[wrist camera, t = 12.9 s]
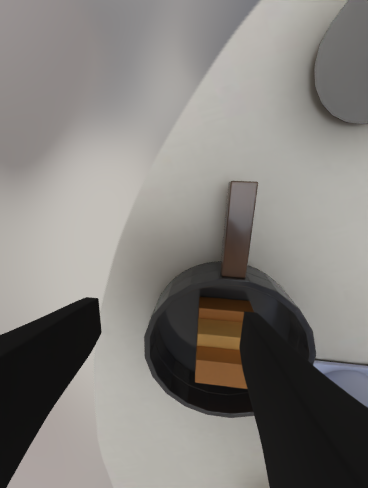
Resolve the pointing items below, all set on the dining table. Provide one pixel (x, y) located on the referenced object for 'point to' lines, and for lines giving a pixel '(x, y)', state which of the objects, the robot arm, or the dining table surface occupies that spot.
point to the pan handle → (238, 228)
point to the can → (345, 64)
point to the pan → (185, 334)
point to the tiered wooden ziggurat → (220, 342)
